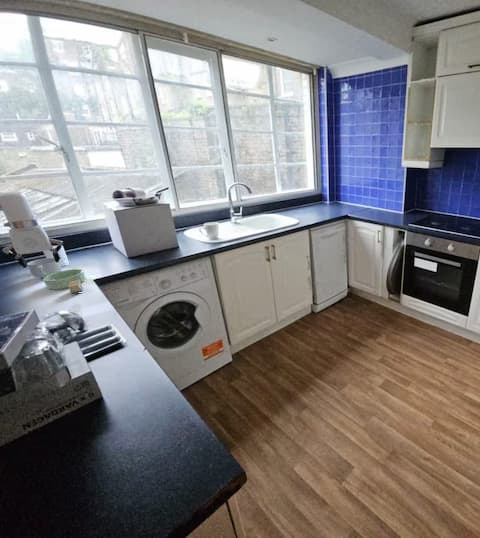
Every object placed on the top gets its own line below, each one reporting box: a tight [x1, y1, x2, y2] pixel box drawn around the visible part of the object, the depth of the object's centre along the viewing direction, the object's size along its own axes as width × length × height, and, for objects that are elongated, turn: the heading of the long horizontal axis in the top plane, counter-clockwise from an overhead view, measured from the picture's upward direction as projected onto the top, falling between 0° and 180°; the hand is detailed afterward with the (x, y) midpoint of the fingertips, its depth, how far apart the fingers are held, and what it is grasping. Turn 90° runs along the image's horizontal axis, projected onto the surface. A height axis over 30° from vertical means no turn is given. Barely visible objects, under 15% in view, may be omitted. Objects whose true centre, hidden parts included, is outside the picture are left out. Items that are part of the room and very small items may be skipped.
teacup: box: [26, 257, 63, 279], centre depth 140 cm, size 14×11×8 cm
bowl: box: [42, 268, 87, 291], centre depth 133 cm, size 13×13×4 cm
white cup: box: [42, 244, 70, 268], centre depth 154 cm, size 8×8×10 cm
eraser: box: [67, 280, 83, 295], centre depth 126 cm, size 6×3×4 cm, turn 39°
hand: (42, 264), depth 123 cm, fingers open, 9 cm apart
